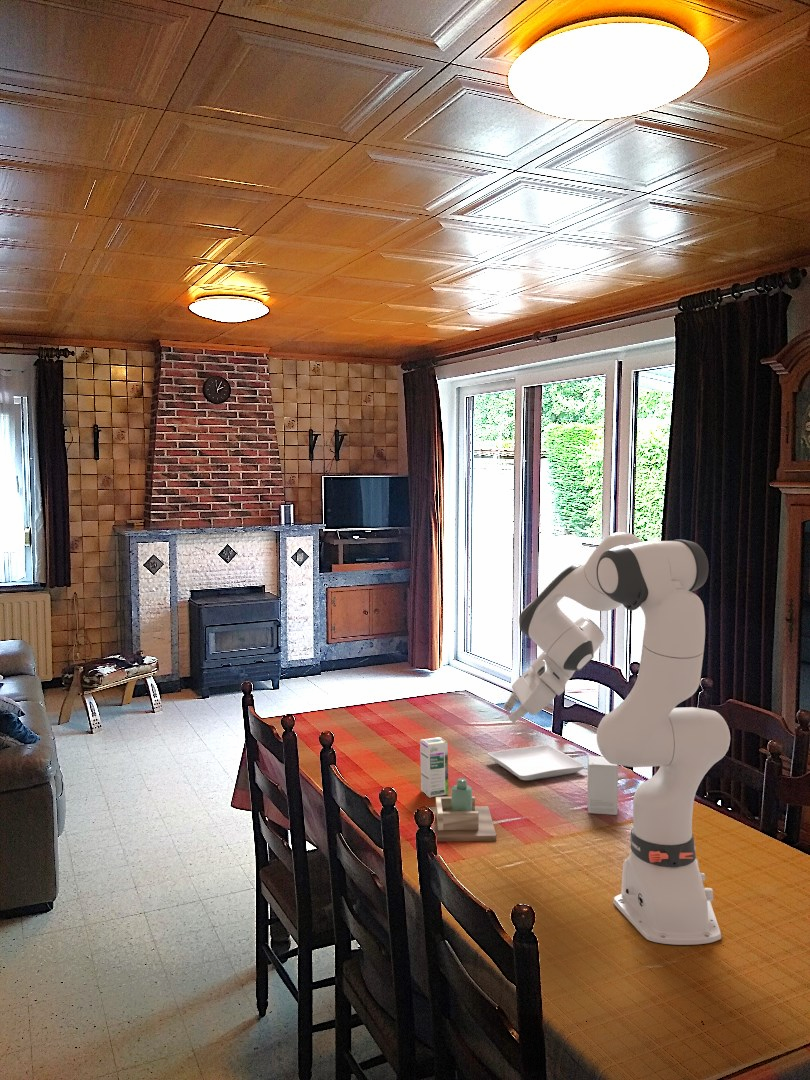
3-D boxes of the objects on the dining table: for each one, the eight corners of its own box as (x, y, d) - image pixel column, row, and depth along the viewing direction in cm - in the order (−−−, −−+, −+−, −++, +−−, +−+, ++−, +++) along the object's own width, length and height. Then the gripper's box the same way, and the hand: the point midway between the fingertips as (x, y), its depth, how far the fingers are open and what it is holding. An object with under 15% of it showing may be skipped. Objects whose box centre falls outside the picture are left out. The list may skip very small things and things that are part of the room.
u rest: (496, 840, 202) (496, 818, 201) (427, 841, 201) (427, 819, 201) (488, 810, 219) (488, 790, 219) (425, 811, 219) (424, 791, 219)
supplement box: (618, 815, 215) (618, 765, 215) (587, 813, 217) (587, 764, 216) (616, 804, 223) (617, 756, 222) (587, 802, 224) (587, 754, 223)
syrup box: (429, 798, 229) (428, 744, 227) (420, 791, 234) (419, 738, 233) (448, 795, 231) (448, 741, 230) (439, 787, 236) (439, 735, 235)
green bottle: (473, 824, 208) (473, 783, 207) (452, 824, 208) (452, 783, 207) (470, 816, 213) (470, 776, 212) (449, 816, 213) (450, 776, 212)
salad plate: (587, 776, 245) (587, 764, 244) (521, 787, 237) (521, 774, 237) (548, 754, 264) (548, 743, 264) (485, 763, 257) (485, 752, 256)
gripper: (531, 655, 218) (493, 694, 219) (546, 674, 198) (503, 717, 198) (549, 672, 219) (511, 711, 219) (565, 692, 198) (523, 735, 199)
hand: (507, 714), depth 209 cm, fingers open, 8 cm apart
